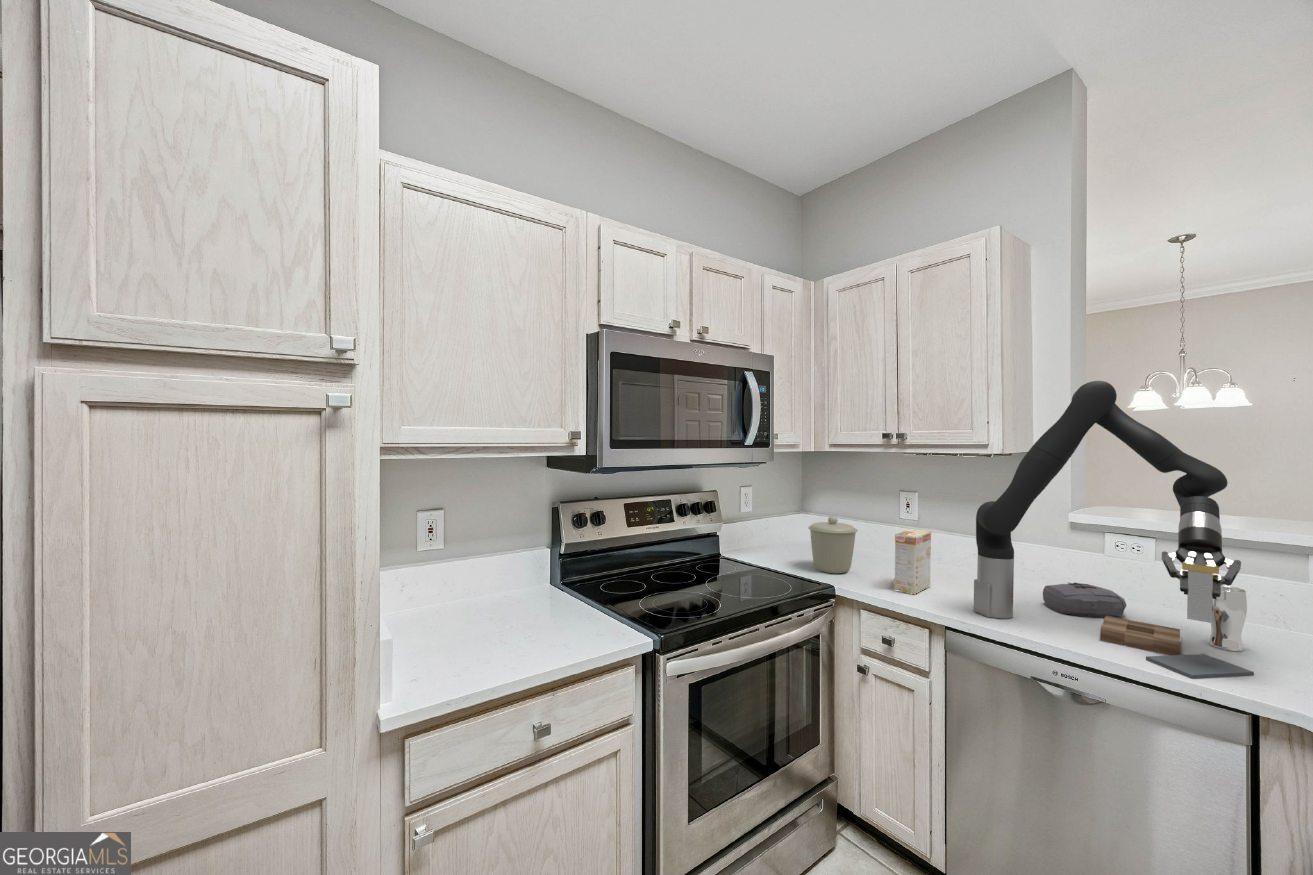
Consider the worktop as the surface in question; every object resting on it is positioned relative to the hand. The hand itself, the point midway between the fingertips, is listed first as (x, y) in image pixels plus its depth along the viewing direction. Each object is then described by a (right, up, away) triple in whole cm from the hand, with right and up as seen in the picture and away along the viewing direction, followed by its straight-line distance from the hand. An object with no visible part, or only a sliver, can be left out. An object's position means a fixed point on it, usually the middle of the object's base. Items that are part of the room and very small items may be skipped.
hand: (1200, 594), depth 125 cm
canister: (-56, -16, +87) cm, 105 cm away
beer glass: (+21, -18, +14) cm, 31 cm away
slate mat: (+1, -17, +2) cm, 17 cm away
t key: (+1, -6, +1) cm, 6 cm away
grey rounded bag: (+7, -17, +42) cm, 46 cm away
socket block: (+2, -17, +18) cm, 25 cm away
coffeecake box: (-36, -16, +63) cm, 75 cm away
